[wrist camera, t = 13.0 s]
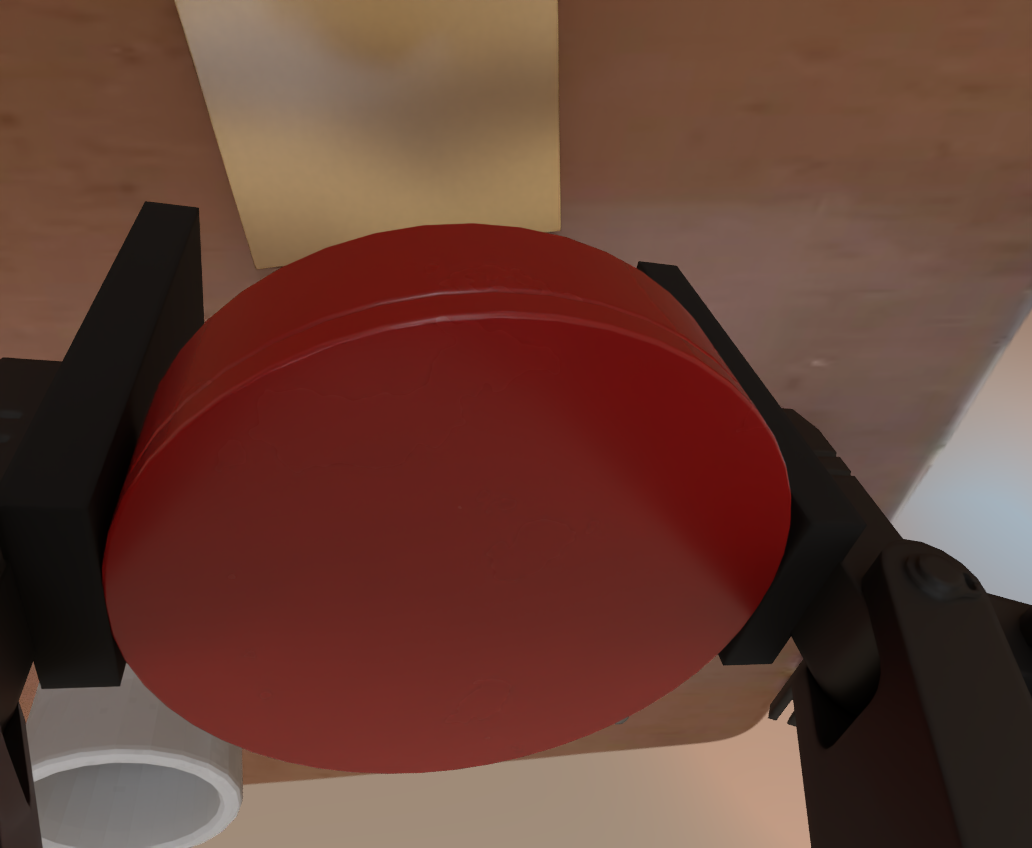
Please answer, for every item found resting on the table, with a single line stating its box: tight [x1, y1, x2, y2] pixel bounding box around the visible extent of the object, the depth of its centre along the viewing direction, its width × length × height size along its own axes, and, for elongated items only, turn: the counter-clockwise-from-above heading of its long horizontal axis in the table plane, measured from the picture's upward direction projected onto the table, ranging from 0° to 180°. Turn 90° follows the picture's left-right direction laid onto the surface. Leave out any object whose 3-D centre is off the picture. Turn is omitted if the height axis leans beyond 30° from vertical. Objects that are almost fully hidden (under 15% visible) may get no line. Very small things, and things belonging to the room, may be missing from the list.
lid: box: [101, 223, 791, 774], centre depth 9 cm, size 8×7×2 cm
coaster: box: [174, 0, 561, 269], centre depth 24 cm, size 11×11×1 cm
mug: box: [26, 663, 243, 848], centre depth 33 cm, size 12×9×10 cm
